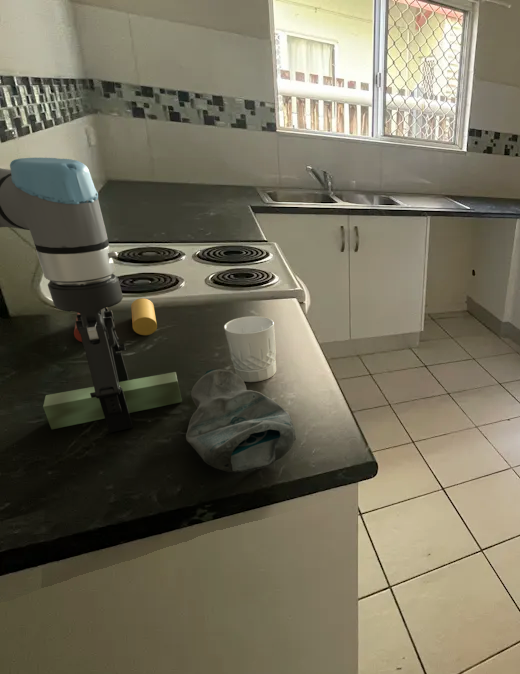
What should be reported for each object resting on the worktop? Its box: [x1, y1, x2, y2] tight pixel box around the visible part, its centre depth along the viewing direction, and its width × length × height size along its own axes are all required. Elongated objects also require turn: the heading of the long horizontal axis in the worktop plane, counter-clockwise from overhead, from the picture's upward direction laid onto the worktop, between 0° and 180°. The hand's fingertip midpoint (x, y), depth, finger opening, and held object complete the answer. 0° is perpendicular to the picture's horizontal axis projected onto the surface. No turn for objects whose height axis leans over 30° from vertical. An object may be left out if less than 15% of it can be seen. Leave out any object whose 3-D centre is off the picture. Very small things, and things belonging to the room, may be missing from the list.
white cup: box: [223, 315, 277, 383], centre depth 86 cm, size 8×8×10 cm
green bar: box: [42, 371, 183, 430], centre depth 74 cm, size 16×4×4 cm, turn 127°
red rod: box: [73, 312, 82, 343], centre depth 96 cm, size 12×4×4 cm, turn 37°
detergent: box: [185, 368, 297, 473], centre depth 71 cm, size 13×7×25 cm
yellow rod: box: [130, 297, 158, 336], centre depth 101 cm, size 12×4×4 cm, turn 37°
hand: (120, 408), depth 75 cm, fingers open, 12 cm apart
